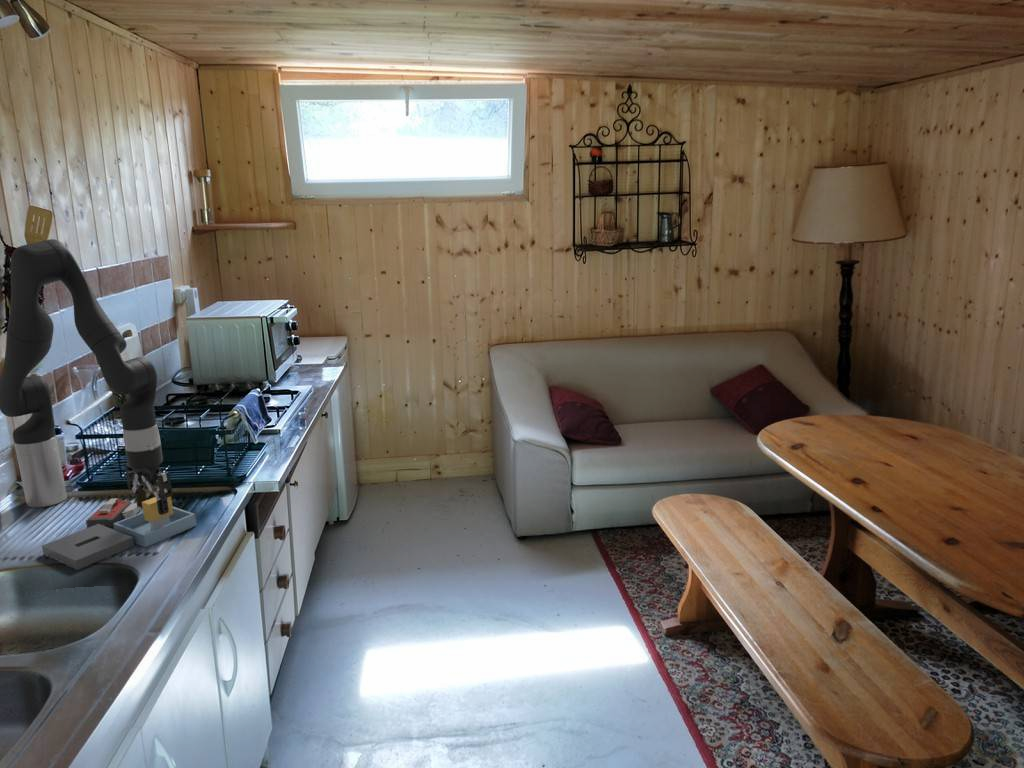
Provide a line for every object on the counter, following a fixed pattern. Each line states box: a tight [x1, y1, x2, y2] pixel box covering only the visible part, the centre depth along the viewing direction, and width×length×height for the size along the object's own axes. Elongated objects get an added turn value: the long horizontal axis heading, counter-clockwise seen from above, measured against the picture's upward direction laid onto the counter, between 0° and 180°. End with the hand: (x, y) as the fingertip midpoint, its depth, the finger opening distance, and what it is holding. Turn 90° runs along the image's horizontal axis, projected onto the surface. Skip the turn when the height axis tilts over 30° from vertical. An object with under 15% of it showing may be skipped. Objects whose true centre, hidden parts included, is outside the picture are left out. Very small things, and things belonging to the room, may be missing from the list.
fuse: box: [141, 496, 174, 530], centre depth 186 cm, size 3×6×7 cm, turn 146°
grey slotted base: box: [41, 524, 135, 571], centre depth 176 cm, size 14×13×2 cm
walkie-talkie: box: [85, 492, 151, 530], centre depth 195 cm, size 9×4×20 cm
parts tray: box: [113, 505, 197, 548], centre depth 185 cm, size 12×13×3 cm
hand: (153, 509), depth 184 cm, fingers open, 8 cm apart
